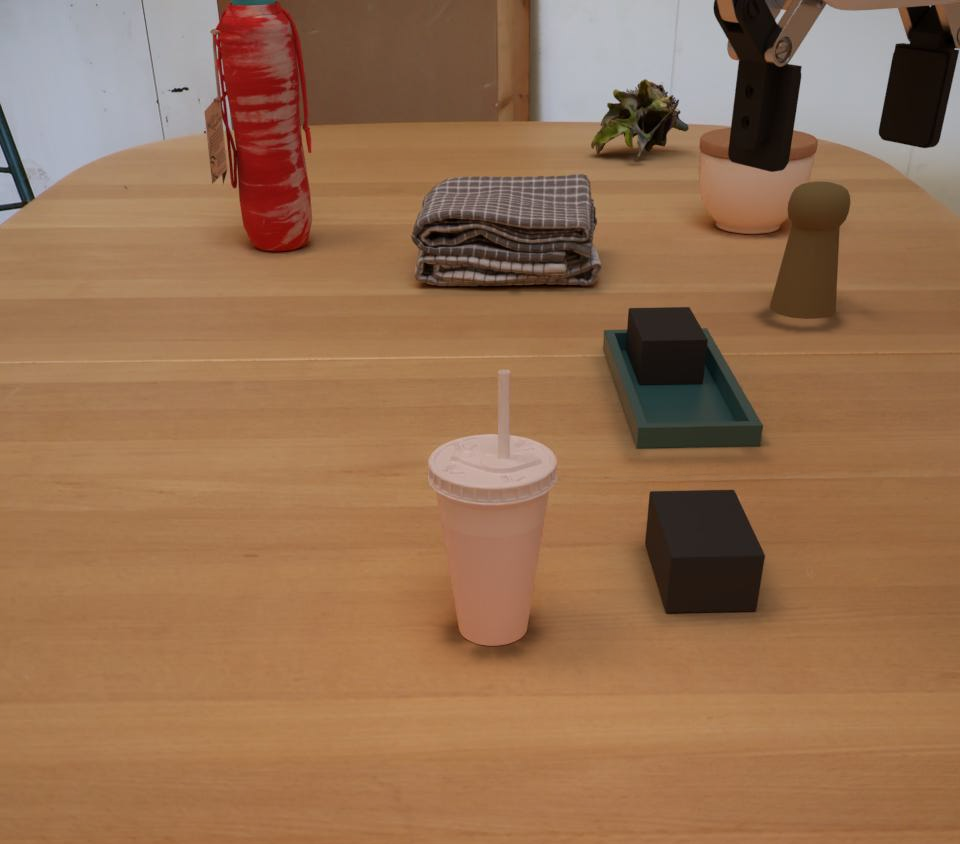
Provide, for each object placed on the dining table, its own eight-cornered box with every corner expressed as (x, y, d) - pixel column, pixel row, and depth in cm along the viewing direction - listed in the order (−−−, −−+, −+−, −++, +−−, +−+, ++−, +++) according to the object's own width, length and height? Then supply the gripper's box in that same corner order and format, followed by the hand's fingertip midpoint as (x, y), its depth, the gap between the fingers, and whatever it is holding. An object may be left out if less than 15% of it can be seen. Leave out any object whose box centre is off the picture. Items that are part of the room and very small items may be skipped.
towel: (426, 249, 121) (423, 170, 117) (596, 250, 120) (600, 170, 116) (412, 291, 109) (408, 204, 104) (601, 292, 108) (606, 205, 104)
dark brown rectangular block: (625, 350, 93) (628, 307, 91) (685, 349, 94) (689, 306, 91) (638, 385, 87) (642, 340, 85) (703, 384, 87) (708, 339, 85)
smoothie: (544, 665, 58) (552, 400, 49) (422, 654, 58) (409, 392, 50) (559, 601, 63) (568, 351, 54) (446, 592, 63) (438, 344, 55)
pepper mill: (776, 301, 106) (795, 173, 99) (841, 309, 104) (865, 179, 97) (760, 319, 101) (778, 187, 95) (827, 328, 99) (851, 194, 93)
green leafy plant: (643, 191, 166) (697, 116, 161) (640, 193, 156) (698, 113, 151) (583, 141, 164) (636, 63, 159) (577, 139, 155) (633, 57, 149)
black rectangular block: (644, 544, 68) (649, 490, 66) (727, 542, 68) (734, 488, 66) (665, 613, 61) (671, 557, 59) (756, 611, 62) (765, 555, 59)
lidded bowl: (732, 245, 121) (746, 132, 115) (670, 219, 131) (680, 113, 124) (827, 232, 125) (846, 122, 119) (760, 208, 135) (774, 104, 128)
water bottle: (202, 253, 121) (160, -25, 106) (227, 234, 127) (191, -31, 112) (310, 257, 119) (282, -25, 104) (330, 237, 126) (307, -31, 110)
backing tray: (602, 354, 94) (603, 329, 93) (704, 353, 95) (707, 327, 93) (635, 456, 78) (638, 427, 77) (759, 453, 78) (763, 425, 77)
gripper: (830, -397, 35) (752, 192, 46) (1154, -351, 43) (1024, 147, 53) (674, -362, 40) (636, 161, 51) (988, -326, 48) (899, 124, 58)
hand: (834, 154), depth 52 cm, fingers open, 9 cm apart
